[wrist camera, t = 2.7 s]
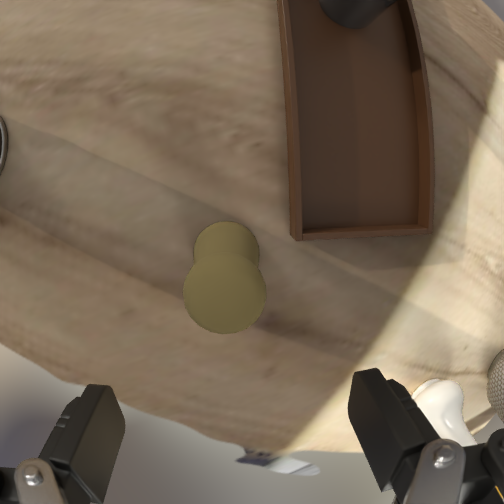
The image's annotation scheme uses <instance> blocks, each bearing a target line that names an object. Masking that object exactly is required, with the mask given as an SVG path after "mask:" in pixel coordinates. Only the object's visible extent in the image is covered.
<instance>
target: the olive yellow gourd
mask: <svg viewBox="0 0 504 504" xmlns="http://www.w3.org/2000/svg"><path fill="white" fill-rule="evenodd" d="M193 256H194V266H193V267H192V268H191V270H190V272H189V273H188V275H187V277H186V279H185V282H184V288H183V298H184V303H185V308H186V310H187V311H188V313H189V315H190V317H191V318H192V319H193V320H194V321H195V322H196V323H197V324H198V325H199V326H200V327H202V328H204V329H206V330H208V331H210V332H214V333H219V334H231V333H236V332H239V331H242V330H244V329H247V328H248V327H249V326H250V325H252V324H253V323H254V322H256V320H257V319H258V317H259V316H260V314H261V313H262V311H263V308H264V304H265V301H266V285H265V282H264V280H263V277H262V275H261V273H260V271H259V269H258V262H259V246H258V243H257V241H256V239H255V236H254V235H253V234H252V233H251V232H250V231H249V230H248V229H247V228H246V227H244V226H242V225H241V224H239V223H235V222H230V221H224V222H217V223H215V224H212V225H210V226H208V227H207V228H206V229H205V230H203V231H202V232H201V233H200V235H199V236H198V238H197V240H196V242H195V246H194V251H193Z"/></svg>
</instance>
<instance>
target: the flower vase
mask: <svg viewBox="0 0 504 504" xmlns="http://www.w3.org/2000/svg"><path fill="white" fill-rule="evenodd" d="M411 397H412V399H414V401H415V402H416V404H417V407H419V408H420V409H421V411H422V412H423V413H424V415H425V416H426V418H427V419H428V420H429V422H430V423H431V425H432V426H433V428H434V429H435V430H436V432H437V433H438V435H439V436H440V437H441V438H444V439H451V440H454V441H456V442H457V443H459V444H460V445H461V446H462V447H464V446H471V445H476V444H478V443H477V442H476V440H475V439H474V438H473V436H472V434H471V433H470V431H469V430H468V428H467V426H466V424H465V422H464V418H463V413H462V409H463V404H464V393H463V390H462V387H461V385H460V384H459V383H457V382H456V381H454V380H448V379H446V380H440V379H431V380H428V381H426V382H425V383H423V384H422V385H421V386H419V387H418V388H417V389H416V390H415V391H414V393H413V394H412V396H411ZM496 489H497V491H498V492H499V494H500V496H501V498H502V499H503V501H504V498H503V496H502V495H501V493H500V491H499V490H498V488H497V486H496Z"/></svg>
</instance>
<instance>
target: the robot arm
mask: <svg viewBox="0 0 504 504" xmlns="http://www.w3.org/2000/svg"><path fill="white" fill-rule="evenodd" d="M7 144H8V140H7V130H6V126H5V124H4V121H3V120H2V118H1V117H0V174H1V172H2V169H3V167H4V163H5V159H6V154H7ZM348 415H349V419H350V422H351V424H352V426H353V429H354V431H355V433H356V435H357V438H358V440H359V442H360V444H361V447H362V449H363V451H364V453H365V456H366V458H367V460H368V462H369V465H370V467H371V469H372V472H373V474H374V476H375V479H376V481H377V483H378V485H379V488H380V490H381V492H384V491H387V490H390V489H393V490H394V492H395V494H396V496H395V497H394V499H393V502H392V504H504V501H503V499H502V498H501V496H500V494H499V492H498V491H497V489H496V486H497V488H498V490H499V491H500V493H501V495H502V496H503V498H504V429H499V430H497V431H495V432H494V433H493V434H492V435H491V436H490V438H489V439H488V441H487V442H486V443H482V444H476V445H471V446H464V447H462V446H461V445H460V444H459V443H457V442H456V441H454V440H451V439H444V438H441V437H440V436H439V435H438V433H437V432H436V430H435V429H434V428H433V426H432V425H431V423H430V422H429V420H428V419H427V418H426V416H425V415H424V413H423V412H422V411H421V409H420V408H419V407H417V404H416V402H415V401H414V399H412V397H411V395H410V394H409V392H408V391H407V390H406V388H405V387H404V386H403V385H401V384H399V383H398V382H396V381H395V380H393V379H390V380H386V379H385V378H384V376H383V375H382V373H381V372H380V370H379V369H378V368H372V369H368V370H363V371H357V372H355V373H354V375H353V379H352V385H351V391H350V396H349V402H348ZM124 433H125V419H124V416H123V414H122V411H121V409H120V407H119V404H118V402H117V399H116V397H115V394H114V392H113V389H112V388H111V387H110V386H108V385H96V384H89V385H87V387H86V388H85V390H84V392H83V394H82V395H81V397H76V398H75V399H74V400H72V401H71V402H70V403H69V404H68V405H67V406H66V408H65V409H64V411H63V412H62V414H61V418H59V420H58V422H57V423H56V426H55V427H54V429H53V431H52V432H51V434H50V436H49V438H48V440H47V442H46V444H45V445H44V447H43V449H42V451H41V453H40V455H39V457H38V458H29V459H26V460H24V461H22V462H21V463H20V464H19V465H18V466H17V468H4V467H0V504H90V502H92V503H96V504H103V502H104V498H105V495H106V491H107V488H108V485H109V481H110V478H111V474H112V471H113V468H114V464H115V461H116V458H117V455H118V452H119V449H120V445H121V442H122V439H123V436H124Z"/></svg>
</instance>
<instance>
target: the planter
mask: <svg viewBox="0 0 504 504" xmlns="http://www.w3.org/2000/svg"><path fill="white" fill-rule="evenodd" d="M487 397H488V400H489V402H490V404H491V406H492V407H493V409H494V410H495V412H496V413H497V414H498V416H499V417H500V419H501V420H502V421H503V422H504V349H503V350H502V351H501V352H500V353H499V354H498V355H497V357H496V358H495V359H494V361H493V363H492V364H491V366H490V369H489V372H488V384H487Z"/></svg>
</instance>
